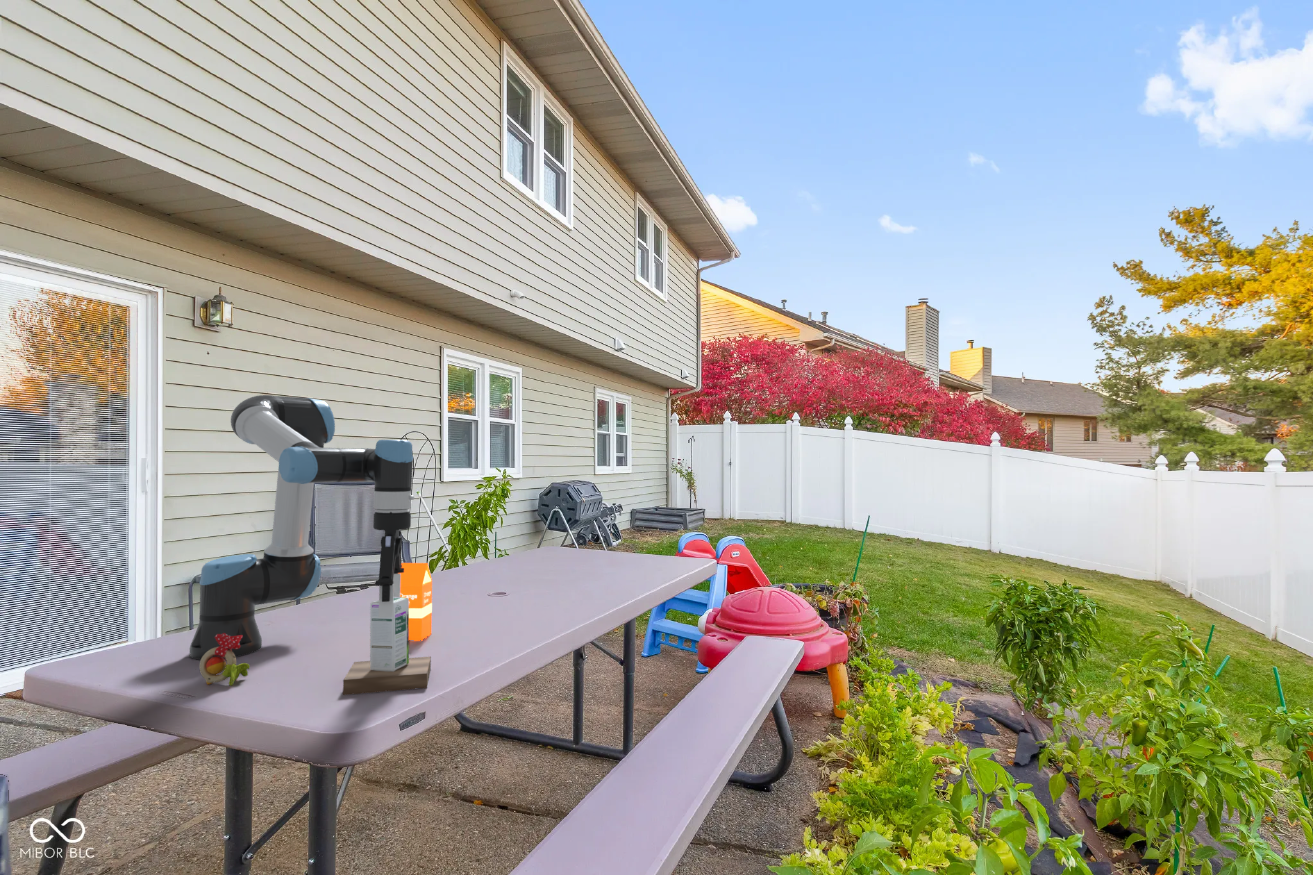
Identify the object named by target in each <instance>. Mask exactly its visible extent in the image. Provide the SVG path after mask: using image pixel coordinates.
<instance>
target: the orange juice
mask: <svg viewBox="0 0 1313 875" xmlns="http://www.w3.org/2000/svg"><path fill="white" fill-rule="evenodd" d="M401 565H402V567H401V568H404V573H398V574H401V582H400V597H405V598H409V640H414V641H413V642H422V641H424V640H425V639H427V636H428V637H429V636H431V635H432V624H433V623H432V621H433V619H432V616H433V613H432V612H433V579H432V576H431V571H430V568H429V563H428V562H401ZM424 638H425V639H424ZM423 639H424V640H423ZM420 640H421V641H420Z"/></svg>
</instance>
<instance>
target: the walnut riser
mask: <svg viewBox="0 0 1313 875" xmlns="http://www.w3.org/2000/svg"><path fill="white" fill-rule="evenodd" d="M431 662H432V657H431V656H420V657H409V663H408V664H407V665H405V666H403V667H401V668H399V669H397V670H395V671H394V672H392V671H375V670H371V669H370V660H364V661H354V662H352V665H351V667H350V668H349V670H348V672H347V673H346V674H345V677H344V678H343V680H342V682H343V684H342V695H343V696H346V695H347V696H348V695H358V694H359V695H360V694H361V695H362V694H368V693H369V694H370V693H371V694H373V693H380V692H381V693H384V692H394V691H395V692H396V691H407V690H416V689H415V688H421V689H427V688H428V684H429V680H430V674H431V670H432V669H431V665H432V663H431Z"/></svg>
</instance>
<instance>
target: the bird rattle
mask: <svg viewBox="0 0 1313 875" xmlns="http://www.w3.org/2000/svg"><path fill="white" fill-rule="evenodd" d="M242 637H243V635H238V636H228V635H227V634H225V633H223V634H217V635H216V636H215V639H216V641H217V642H218V644H219V645H220V646H219V647H215V648H212V649H210V650H209V651H207V652H206V653H205V654H204V655H203V657H202V659H200V660H199V672H200V674H201V676H202V678H203V679H204V680H205V683H206V685H207V686H210V685H212V684H215V683H219V682H220V683H221V682H224V681H225V680H228V678H229V680H228V685H229V686H230V687H232V686H234V683H235V681H236V680H238V678H239V677H240V675H241V676H243V677H247V676H249V675H248V674H249V672H248V669H250V667H251V666H250V664H249V663H245V662H243V663H239V664H237V657H235V655H234V653H233V652H232V648H233V649H238V648H240V644H239V642H240V640H241V639H242ZM214 655H217V656H215V657H213V656H214Z"/></svg>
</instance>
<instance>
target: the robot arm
mask: <svg viewBox="0 0 1313 875" xmlns="http://www.w3.org/2000/svg"><path fill="white" fill-rule="evenodd" d="M230 427H231V428H232V431H233V432H234V434H235V435H236V436H237V437H238V438H239V439H241V441H242V442H244V443H247V444H249V445H255V446H257V447H258V448H260V449H261V450H262V451H263V452H265V453H266V454H267V455H269V456H270V457H272V459H273V460H276V461H277V462H278V469H277V470H278V471H277V480H276V490H275V491H276V492H275V501H274V512H273V525H272V526H273V527H272V533H271V535H272V536H271V543H270V544H269V545H268V546H266V548H265V549H264V550H263V556H262V558H257V556H256V554H253V553H244V554H235V555H229V556H228V555H227V556H223V557H220V558H215V559H212V560H210V561H208V562H205V564H203V566H202V568H201V571H200V580H199V585H200V587H199V588H200V589H199V620H198V626H197V628H196V631H195V634H194V635H193V639H192V641H191V643H190V646H189V657H190V658H191V659H194V660H201V659H202V657H203V655H204V654H205V653H206V652H207V651H209V650H210V649H212V648H215V647H219V646H220V645H219V644H218V642H217V641H216V639H215V636H216V635H217V634H223V633H225V634H227V635H228V636H238V635H243V637H242V639H241V640H240V642H239V644H240V648H238V649H233V648H232V652H233V653H234V655H235V657H236V658H237V657H241V656H245V655H249V654H253V653H255V652H257V651H259V650H261V648H262V647H263V646H262V644H263V643H262V642H263V640H262V636H261V633H260V630H259V627H258V625H257V621H256V619H255V618H256V617H255V607H256V606H258V605H265V604H271V603H279V602H285V601H286V602H287V601H292V602H293V601H296V600H300V599H304V598H308V597H310V596H311V595H312V594H313V593H314V592H315V591H316V589H317V588H318V586H319V583H320V581H321V574H322V566H321V559H320V558H319V556H318V555H317V554H314V550H315V549H314V548H313V547H312V546H310V544H309V537H310V529H311V528H310V527H311V517H312V506H313V497H314V486H315V485H314V484H319V483H320V484H326V483H327V484H329V483H374V491H373V509H374V510H375V512H374V513H373V521H372V522H373V527H372V528H373V529H374V530H375V531H384V536H381V538H380V539H381V540H380V548H381V549H380V562H379V573H378V580H377V581H375V586H376V587H378V589H379V590H378V591H379V592H378V600H379V618H381V617H393V599H394V597H400V582H401V574H398V573H404V568H401V567H402V565H401V563H402V547H403V546H402V545H403V544H402V543H403V536H402V531H404V530H405V531H406V530H408V529H410V528H411V525H412V524H411V523H412V522H411V521H412V512H410V511H409V510H410V509H411V508H412V500H414V499H415V496H414V495H411V494H412V483H413V462H414V456H413V444H412V442H411V441H410V440H407V439H379V440H378V441H376V444H375V448H362V447H361V448H354V447H352V448H349V447H348V448H346V447H345V448H343V447H341V448H340V447H324V446H325V445H326V444H328V443H330V442H331V441H332V440H333V438H334V435H335V431H336V422H335V417H334V414H333V411H332V408H331V407H330V405H329V404H328V403H327V402H326V401H325V400H324V401H323V400H321V399H317V398H310V397H300V396H299V397H296V396H282V395H281V396H280V395H272V394H271V395H270V394H260V395H254V396H252V397H249V398H247V399H245V400H242V401H241V402H240V403H239V404H237V405H236V406H235V408H234V409H233V411H232V413H231V417H230ZM215 656H217V655H214V656H213V657H215Z"/></svg>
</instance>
